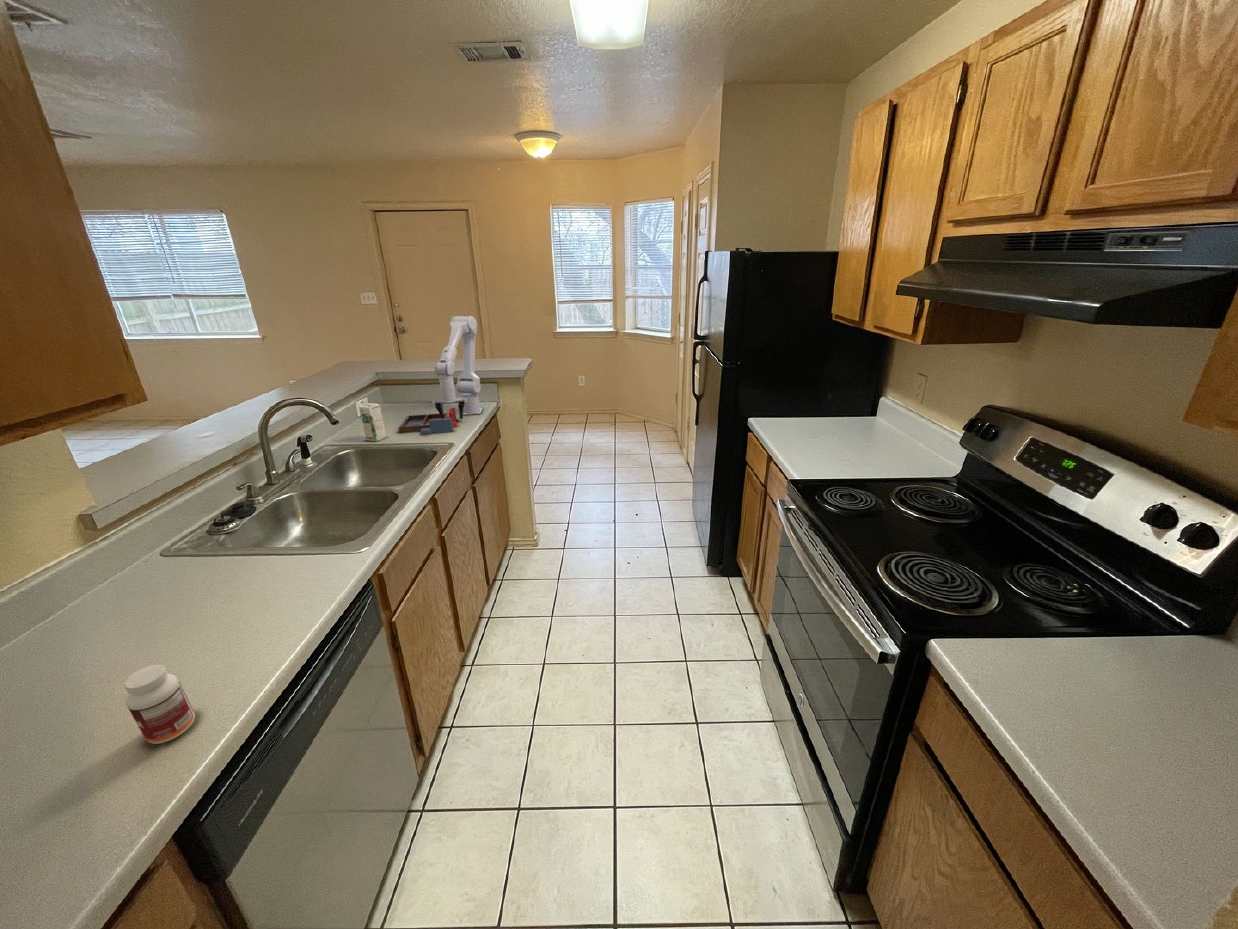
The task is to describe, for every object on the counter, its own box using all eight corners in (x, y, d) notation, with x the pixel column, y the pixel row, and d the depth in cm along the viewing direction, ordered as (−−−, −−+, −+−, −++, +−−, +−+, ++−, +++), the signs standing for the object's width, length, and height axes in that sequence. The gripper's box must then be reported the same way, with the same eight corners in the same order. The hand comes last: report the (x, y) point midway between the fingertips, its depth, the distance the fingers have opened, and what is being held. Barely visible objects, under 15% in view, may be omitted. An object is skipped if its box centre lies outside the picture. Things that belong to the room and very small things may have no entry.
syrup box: (365, 440, 207) (357, 406, 202) (376, 435, 212) (369, 402, 207) (376, 441, 205) (368, 407, 200) (387, 437, 210) (379, 403, 205)
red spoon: (449, 419, 231) (447, 407, 228) (459, 419, 231) (457, 407, 229) (445, 428, 219) (443, 416, 217) (456, 427, 219) (454, 415, 217)
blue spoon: (453, 429, 217) (451, 417, 215) (452, 432, 213) (450, 420, 211) (422, 432, 215) (420, 419, 213) (420, 435, 211) (418, 422, 209)
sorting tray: (408, 421, 231) (407, 415, 230) (448, 417, 233) (447, 412, 232) (399, 432, 215) (398, 427, 214) (443, 429, 218) (442, 423, 217)
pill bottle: (149, 724, 81) (121, 672, 77) (197, 705, 84) (173, 654, 80) (143, 753, 76) (113, 699, 72) (194, 732, 79) (168, 679, 75)
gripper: (429, 392, 216) (434, 423, 221) (463, 390, 218) (468, 420, 224) (431, 388, 223) (436, 418, 228) (465, 386, 225) (469, 415, 230)
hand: (452, 419), depth 226 cm, fingers open, 7 cm apart
